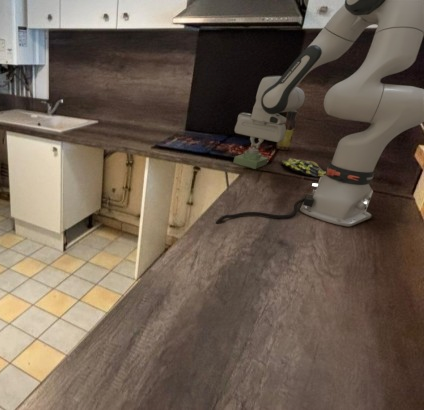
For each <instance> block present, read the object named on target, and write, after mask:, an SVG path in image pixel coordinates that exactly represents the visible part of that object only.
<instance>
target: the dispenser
mask: <svg viewBox="0 0 424 410" xmlns="http://www.w3.org/2000/svg"><path fill="white" fill-rule="evenodd" d="M233 158H234V159H233V161H232V162H233V164H236V165H238V166H239V165H240V166H243V167H247V168H250V169H254V170H257V169H259V168H261V167H263V166H267V165H268V162H269V157H267V156H262V153H261V152H259V151H258V154H250V153H248V150H244V151H243V153H241V154H238V155H235V156H234V157H233Z"/></svg>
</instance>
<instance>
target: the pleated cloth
mask: <svg viewBox="0 0 424 410" xmlns="http://www.w3.org/2000/svg"><path fill="white" fill-rule="evenodd" d="M281 164H282V165H283V166H285V167H287V168H289V169H290V170H292V172H296V173H298V174H302V175H305V176H308V177H310V178H311V177H312V178H320V177H322V176H325V175H326V174H325V173H326V171H327V170H324V169H323V168H321V167H320V166H319V164H318V163H316V162H315V161H313V160H304V159H298V158H295V157H289V158H288V159H284V160H281Z"/></svg>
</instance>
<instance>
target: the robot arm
mask: <svg viewBox="0 0 424 410" xmlns="http://www.w3.org/2000/svg"><path fill="white" fill-rule="evenodd" d="M373 25H376V26H377V27H376V29H375V31H374V35H373V38H372V42H371V43H370V47H369V49H368V51H367V54H366V57H365V59H364V61H363V62H362V64H361V65H360V66H359V68H358V69H357V70H356V71H355V72H354V73H353V74H351V75H350V76H348V77H347V78H345V79H344V80H341V81H339V82H337V83H335V84H334V85H332V86H331V87H330V88H329V89H328V91H327V92H326V93H325V95H324V99H323V110H324V111H325V113H326V114H327V115H328V116H331V117H334V118H338V119H341V120H346V121H352V122H353V121H354V122H361V123H362V122H363V123H368V124H370V125H369V127H368V128H366V129H364V130H363V131H360V132H359V131H358V132H354V133H351V134H348V135H345V136H344V137H342V138H340V139H339V141H338V143H337V146H336V148H335V151H334V154H333V157H332V159H331V162H329V164H328V166H327V167H326V170H325V171H326V173H325V174H326V175H325V176H322V177H319V180H318V183H312V185H311V186H312V187H316V188H315V189H313V190H312V191H311V194H307V193H306V194H305V195H304V197H303V198H301V199H299V200H297V201H296V202H295V203H294V205H293V211H292V212H291V213H290V214H272V213H267V212H261V211H244V212H239V213H238V212H237V213H234V214H223V215H222V216H220V217H219V218H218V219H217V221H216V222H215V224H216V225H220V224H221V222H223V220H225V219H232V218H237V217H244V216H261V217H268V218H273V219H288V218H292V217H294V216H295V215H296V214H297V212H298V207H299V205H300V204H301V203H302V204H301V206H300V208H299V211H300V212H301V213H303V214H305V215H307V216H310V217H312V218H314V219H317V220H320V221H324V222H327V223H330V224H334V225H338V226H343V227H349V228H350V227H352V226H355V225H357V224H360V223H362V222H365V221H367V220H369V219H371V218H372V214H371V212H368V210H367V209H368V207H369V204H370V202H371V198H372V196H373V194H374V190H373V188H372V187H371V185H370V184H371V183H372V180H373V178H374V176H375V168H376V166H377V164H378V162H379V160H380V157H381V156H382V154H383V151H384V150H385V148H386V147H387V145H388V144H390V142H391V141H392V140H394V138H396V137H397V136H398V135H400V134H401V133H403V132H405V131H407V130H409V129H412V128H414V127H417V126H420V125H421V124H423V123H424V88H422V87H421V88H420V87H418V86H412V85H401V84H392V83H391V84H389V83H383V82H381V80H382V79H383V78H386V77H387V76H391V75H394V74H398V73H401V72H403V71H405V70H407V69H409V68H410V67H411V66H413V64H414V63H415V62H416V60H417V57H418V54H419V51H420V48H421V45H422V41H423V39H424V0H344V4H342V5H341V7H340V8H339V9H337V11H336V12H335V13H334V14H333V15H332V16H331V18H329V20H328V21H327V22H326V23H325V25H324V27H323V28H322V29H321V30H320V32H319V33H318V35H317V36H316V37H315V38H314V39H313V41H311V43H310V44H309V45H308V46H307V47H306V48H305V49H304V50H303V51H302V52H301V53H300V54H299V55H298V56H297V57H296V59H294V61H293V62H292V64H290V65H289V67H288V68H287V69H286V71H285V72H284V73H283V74H282V75H267V76H264V77H263V78H262V79H261V81H260V82H259V84H258V88H257V92H256V96H255V103H254V105H253V108H252V112H251V113H250V112H240V113H239V114H238V116H237V121H236V124H235V126H234V130H233V131H234V133H235V134H238V135H243V136H247V137H250V138H249V141H250V143H251V144H250V148H255V149H259V148H260V146H261V144H262V143H263V142H264V140H265V141H270V142H275V143H277V142H281V141H282V140H283V139H284V136H285V130H286V126H285V124H284V123H285V122H286V118H287V117H285V116H284V115H281V114H280V113H288V112H289V111H297V110H299V109H300V108H302V107H303V105H304V104H305V101H306V93H305V91H304V90H303V89H302V88H301V87H298V86H299V84H300V83H301V82H302V81H303V80H304V78H305V77H306V76H307V75H308V74H309V73H310V72H312V71H313V70H315V69H316V68H318V67H320V66H322V65H325V64H327V63H331V62H334V61H336V60H339V58H341V57H342V56H343V55H344V54H345V53H347V51H348V50H349V49H350V48H351V47H352V46H353V44H354V43H355V42H356V41H357V40H358V39H359V37H360V36H361V35H362V33H363V32H364V31H365V30H366V29H367V28H368V27H370V26H373ZM256 139H258V141H257V142H255V140H256Z"/></svg>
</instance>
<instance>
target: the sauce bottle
mask: <svg viewBox="0 0 424 410" xmlns="http://www.w3.org/2000/svg"><path fill="white" fill-rule="evenodd" d="M297 114H298V111H297V110H294V111H289V112H287V115H286V117H285V118H286V122H285V123H284V124H285V126H286V130H285V136H284V139H283V140H282V141H281V142H276V149H277V150H279V151H288V150H289V149H290V147H291V144H292V140H293V137H294V133H295V130H296V116H297Z"/></svg>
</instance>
